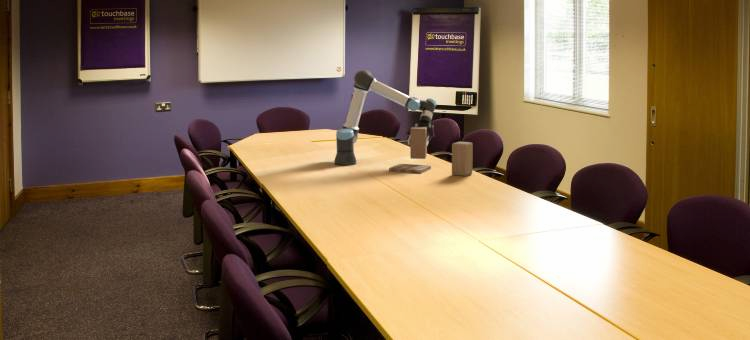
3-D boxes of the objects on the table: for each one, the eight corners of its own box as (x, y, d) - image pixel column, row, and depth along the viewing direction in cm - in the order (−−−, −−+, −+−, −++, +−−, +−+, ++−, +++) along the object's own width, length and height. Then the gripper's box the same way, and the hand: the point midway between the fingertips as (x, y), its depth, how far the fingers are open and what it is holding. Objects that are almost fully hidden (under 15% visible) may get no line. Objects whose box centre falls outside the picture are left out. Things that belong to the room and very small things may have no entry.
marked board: (389, 171, 452) (389, 168, 451) (399, 166, 468) (399, 163, 468) (421, 173, 443) (421, 170, 442) (430, 168, 459) (430, 165, 459)
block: (458, 172, 445) (459, 141, 441) (472, 174, 439) (473, 142, 436) (451, 175, 437) (451, 143, 433) (465, 176, 431) (465, 144, 427)
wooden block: (425, 159, 463) (425, 128, 459) (410, 158, 464) (410, 128, 461) (426, 156, 472) (426, 127, 469) (411, 156, 474) (412, 126, 470)
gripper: (444, 122, 473) (436, 148, 463) (410, 121, 483) (402, 146, 473) (441, 115, 468) (433, 141, 457) (407, 114, 478) (399, 139, 467)
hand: (417, 144), depth 465 cm, fingers closed on wooden block, 12 cm apart
